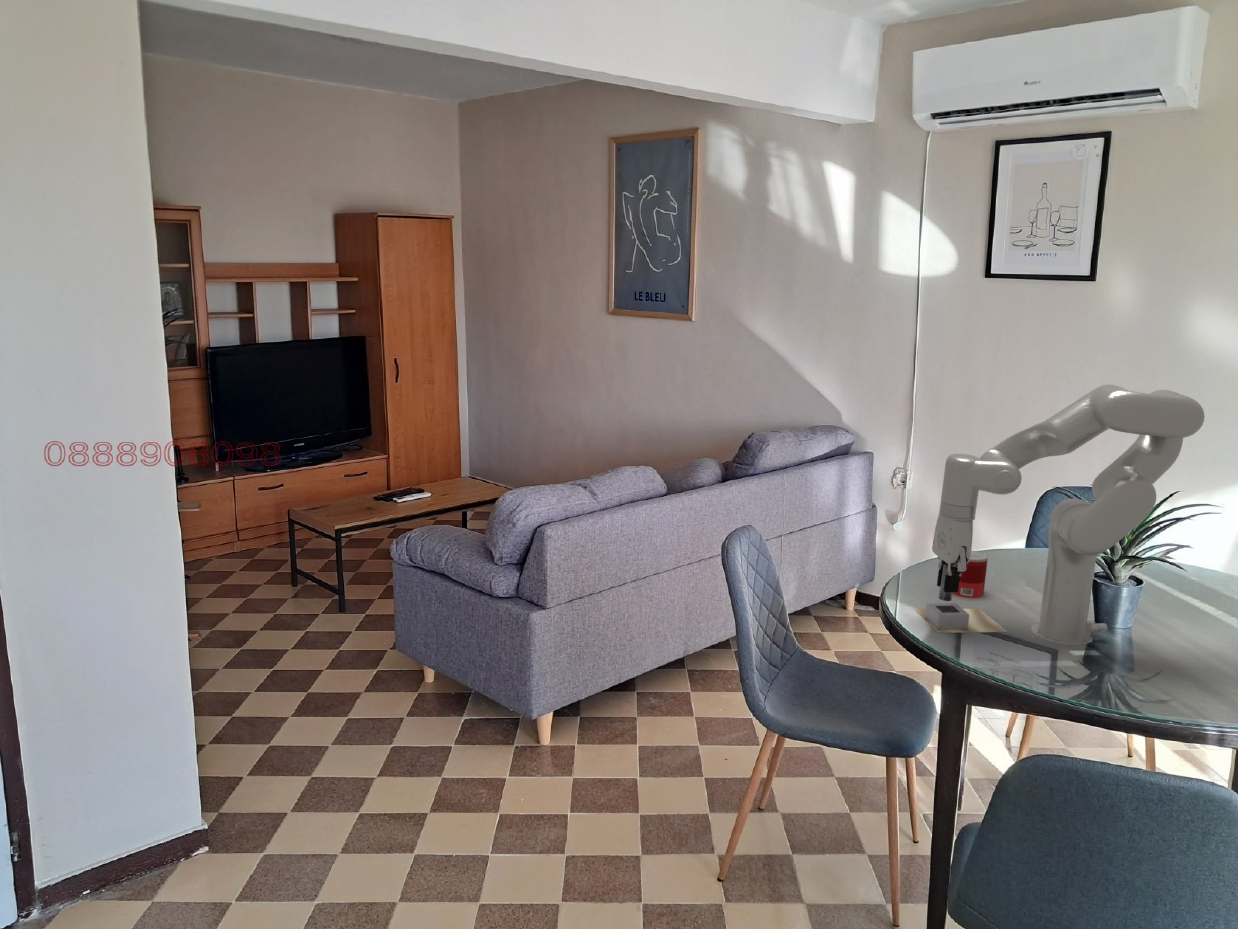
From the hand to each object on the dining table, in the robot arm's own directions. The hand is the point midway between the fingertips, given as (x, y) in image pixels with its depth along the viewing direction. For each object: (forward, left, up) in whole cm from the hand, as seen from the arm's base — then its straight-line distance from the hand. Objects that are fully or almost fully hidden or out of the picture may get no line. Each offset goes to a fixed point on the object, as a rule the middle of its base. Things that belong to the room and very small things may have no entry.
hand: (947, 588), depth 214 cm
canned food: (-15, -20, -10) cm, 26 cm away
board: (-5, -2, -10) cm, 11 cm away
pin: (0, 0, -2) cm, 2 cm away
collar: (-1, 0, -8) cm, 8 cm away
